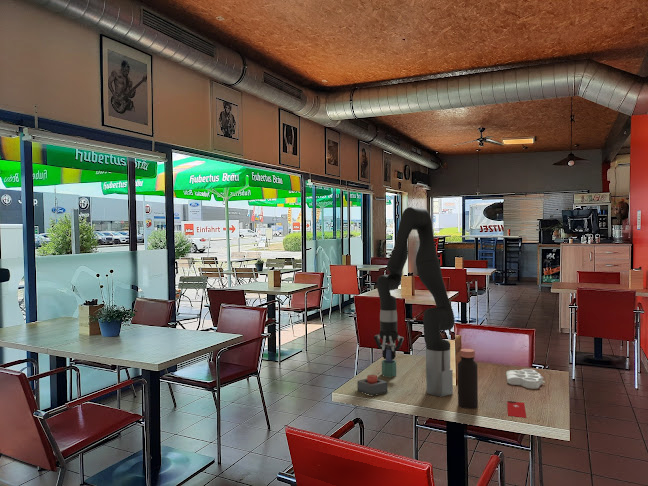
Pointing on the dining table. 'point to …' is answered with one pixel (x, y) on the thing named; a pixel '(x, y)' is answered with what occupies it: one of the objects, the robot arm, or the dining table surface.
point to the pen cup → (388, 368)
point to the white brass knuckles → (524, 378)
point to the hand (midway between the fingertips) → (389, 358)
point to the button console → (372, 387)
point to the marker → (388, 353)
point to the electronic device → (516, 409)
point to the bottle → (467, 380)
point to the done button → (371, 379)
